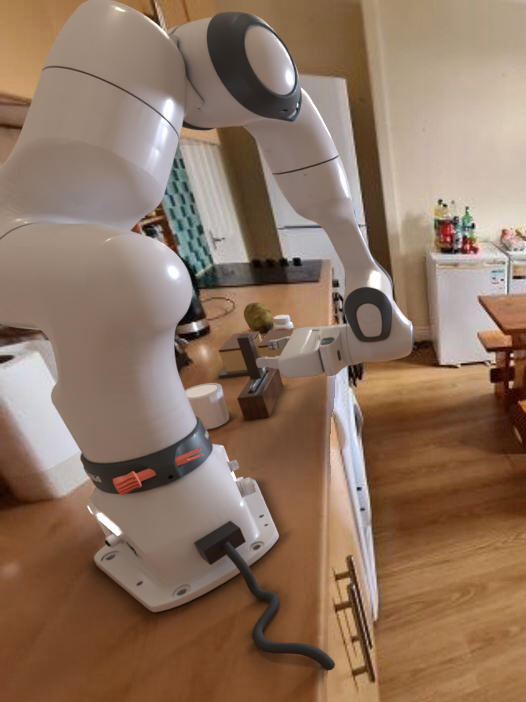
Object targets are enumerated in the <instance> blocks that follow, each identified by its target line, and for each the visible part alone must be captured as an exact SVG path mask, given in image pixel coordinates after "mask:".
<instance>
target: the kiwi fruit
mask: <svg viewBox="0 0 526 702" xmlns="http://www.w3.org/2000/svg"><path fill="white" fill-rule="evenodd" d="M243 318H244V320H245V322H246V324H247V326H248V328H249V329H250V330H251V332H257V331H259V332H260V334H264V335H266V334H267V333H268V331H269V330H274V325H275V323H274V319H273V318H274V317H273V315H272V312H271V310H270V309H269V308H268V307H267V306H266V305H265V304H264V303H262V302H261V303H260V302H256V301H255V302H252V303H248V304H247V305H246V306H245V307H244V309H243Z"/></svg>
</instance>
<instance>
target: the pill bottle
mask: <svg viewBox="0 0 526 702" xmlns="http://www.w3.org/2000/svg"><path fill="white" fill-rule="evenodd" d="M272 318H273V323H274V327H273V330H278V329H288V328H294V329H295V326H294V323H293V322H292V321H291V317H290V315H289V314H278V315H275V316H273V317H272Z"/></svg>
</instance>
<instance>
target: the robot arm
mask: <svg viewBox="0 0 526 702" xmlns="http://www.w3.org/2000/svg"><path fill="white" fill-rule="evenodd" d="M231 127H243V128H244V129H245V130H246V131H247V132H248V133H249V134H250V135H251V136H252V137H253V138H254V139H255V141H256V142H257V143H258V146H259V149H260V151H261V153H262V156H263V158H264V160H265V162H266V165H267V166H268V169H269V171H270V173H271V175H272V177H273V179H274V182H275V183H276V185H277V187H278V189H279V190H280V192H281V194H282V195H283V197H284V198H285V199H286V201H287V202H288V204H289V205H290V206H291V208H292V209H293V210H294V212H295V213H296V214H297V215H298V216H299V217H302V218H304V219H305V220H307V221H311V222H314V223H316V224H317V225H318V226H319V227H321V228H322V230H323V231H324V232H325V233H326V235H327V237H328V238H329V240H330V242H331V245H332V246H333V249H334V251H335V252H336V254H337V256H338V259H339V260H340V263H341V264H342V267H343V271H344V294H343V301H342V302H343V303H342V307H343V313H344V315H345V317H346V320H347V322H348V323H340V324H337V323H336V324H328V325H323V326H304V327H298V328H296V329H295V328H294V332H293V334H292V336H287V337H284V338H281V339H278V340H270V341H269V342H268V344H267V345H268V348H269V350H278V349H279V348H284V347H285V348H284V349H283V351H282V353H281V355H280V356H275V357H267V356H263V357H258V358H257V360H256V364H257V367H258V368H264V367H269V368H274V369H279V373H280V377H281V378H282V377H283V378H286V379H298V378H299V379H300V378H309V377H310V378H311V377H318V376H321V375H323V374H324V375H325V376H326V377H333V376H336V375H338V374H339V373H340V372H341V371H342V370H344V369H345V368H347V367H349V366H355V365H359V364H361V363H381V362H389V361H394V360H398V359H402V358H405V357H407V356H409V355H410V354H411V353H412V352H413V349H414V345H415V329H414V324H413V322H412V321H411V320H409V319H408V318H407V317H406V316H405V315H404V313H402V311H401V310H400V308H399V306H398V305H397V303H396V302H395V300H394V296H393V292H394V291H393V290H394V284H393V280H392V277H391V275H390V274H389V272H388V271H387V270H386V269H385V268H384V267H383V266H382V265H381V264H380V262H378V261H377V260H376V259H375V257H374V256H373V255H372V252H371V250H370V248H369V246H368V243H367V241H366V239H365V237H364V234H363V232H362V230H361V228H360V225H359V222H358V221H357V217H356V215H355V214H356V212H355V209H354V202H353V196H352V192H351V187H350V182H349V180H348V177H347V173H346V169H345V167H344V164H343V161H342V159H341V156H340V153H339V152H338V149H337V147H336V144H335V141H334V140H333V137H332V136H331V134H330V132H329V129H328V127H327V126H326V123H325V122H324V119H323V118H322V116H321V114H320V112H319V111H318V108H317V106H316V105H315V104H314V102H313V100H312V99H311V97H310V95H309V94H308V93H307V91H305V89H303V88H302V86H301V79H300V76H299V71H298V68H297V65H296V63H295V60H294V58H293V56H292V53H291V51H290V49H289V48H288V46H287V44H286V43H285V42H284V40H283V39H282V38H281V36H279V34H278V33H277V32H276V31H275V30H274V28H273V27H271V26H270V25H269V24H268V23H267V22H266V21H265V20H264V19H262V18H261V17H259V16H257V15H255V14H252V13H250V12H249V13H248V12H245V11H223V12H219V13H217V14H215V15H213V16H212V17H205V18H201V19H197V20H192V21H187V22H183V23H180V24H178V25H176V26H173V27H171V28H168V29H167V30H164V29H163V28H161V27H160V25H158V24H157V23H156V22H155V21H154V20H153V19H151V18H149V17H148V16H147V15H145V14H144V13H142V12H141V11H138V10H137V9H135V8H133V7H131V6H129V5H128V4H124V3H123V2H119V1H116V0H86V1H84V2H81V4H79V5H78V6H77V8H76V9H75V10H74V11H73V13H71V15H70V16H69V17H68V19H67V20H66V22H65V23H64V25H63V26H62V28H61V29H60V31H59V33H57V35H56V38H55V40H54V41H53V43H52V45H51V47H50V49H49V52H48V54H47V55H46V58H45V61H44V64H43V66H42V69H41V71H40V75H39V78H38V81H37V84H36V87H35V91H34V93H33V96H32V99H31V102H30V104H29V107H28V111H27V114H26V116H25V119H24V122H23V125H22V128H21V131H20V134H19V136H18V138H17V141H16V142H15V144H14V146H13V148H12V150H11V152H10V153H9V155H8V157H7V158H6V160H5V161H4V162H3V164H2V165H1V167H0V325H1V326H6V327H11V328H17V329H27V330H35V331H36V330H37V331H38V330H39V331H41V332H42V333H43V334H44V335H45V336H46V337H47V339H48V341H49V343H50V345H51V347H52V351H53V356H54V359H55V360H54V361H55V365H56V371H57V382H56V383H55V384H54V385H53V386H52V387H53V388H52V390H51V392H50V399H51V403H52V405H53V407H54V409H55V410H56V411H57V414H58V415H59V416H60V418H61V420H62V422H63V424H64V425H65V428H67V430H68V432H69V433H70V435H71V437H72V438H73V440H74V442H75V443H76V445H77V447H78V449H79V450H80V452H81V453H80V455H79V456H80V458H79V459H80V462H81V464H82V468H83V470H84V473H85V474H86V475H87V476H88V477H89V479H90V480H91V482H92V484H93V485H94V486H95V488H94V490H93V492H92V493H91V495H90V496H89V497H88V500H87V501H86V505H87V508H88V510H89V512H90V513H91V514H92V515H93V517H94V519H95V520H96V522H97V524H98V525H99V527H100V529H101V530H102V531H103V533H104V535H105V538H104V543H105V545H104V546H103V547H101V548H100V549H99V550H98V551H96V553H95V554H94V556H93V561H94V563H95V565H96V567H98V568H99V569H100V570H101V571H102V572H103V573H105V574H106V575H107V576H108V577H109V578H111V579H112V580H113V581H114V582H115V583H116V584H117V585H118V586H120V587H121V588H122V589H123V590H125V592H127V593H128V594H129V595H130V596H131V597H133V598H134V599H135V600H136V601H137V602H139V603H140V605H142V606H144V608H146V609H147V610H149V611H150V612H151V613H159V612H163V611H167V610H170V609H173V608H176V607H179V606H182V605H184V604H186V603H189V602H191V601H193V600H196V599H197V598H199V597H201V596H203V595H205V594H207V593H209V592H211V591H212V590H214V589H216V588H218V587H219V586H221V585H223V584H224V583H227V582H228V581H229V580H231V579H232V578H234V577H236V576H237V575H238V574H240V575H241V576H242V578H243V580H244V582H245V584H246V586H247V588H248V590H249V592H250V593H251V595H252V596H253V597H255V598H256V599H259V600H261V601H267V602H268V606H267V607H266V609H265V610H264V612H263V613H262V614H261V615H260V617H259V618H258V619H257V621H256V623H255V624H254V626H253V629H252V631H251V632H252V633H251V638H252V641H253V643H254V645H255V646H256V647H257V649H259V650H261V651H262V652H264V653H269V654H277V655H278V654H284V655H286V654H289V655H299V656H300V655H301V656H304V657H308V658H310V659H312V660H313V661H315V662H317V663H318V664H319V665H320V666H321V667H322V668H323V669H324V670H326V671H332V670H333V669H334V668H335V666H336V663H335V661H334V660H333V658H332V657H331V656H330V655H328V654H327V653H326V652H325V651H324V650H322V649H320V648H318V647H316V646H314V645H312V644H307V643H301V642H278V641H277V642H276V641H272V640H269V639H267V638H265V636H264V633H263V630H264V628H265V626H266V625H267V624H268V622H269V621H270V619H271V618H272V617H273V615H274V614H275V612H276V611H277V608H278V606H279V602H280V601H279V596H278V595H277V593H275V592H273V591H269V590H264V589H263V588H262V587H261V586H260V585H259V584H258V582H257V580H256V578H255V575H254V573H253V571H252V569H251V568H250V566H252V565H253V564H254V563H255V562H257V561H258V560H260V559H261V558H262V557H263V556H264V555H266V553H268V551H270V550H271V548H272V547H273V546H274V545H275V544H276V543H277V541H278V540H279V538H280V535H279V532H278V529H277V527H276V524H275V521H274V519H273V517H272V515H271V512H270V510H269V508H268V505H267V503H266V501H265V499H264V496H263V494H262V492H261V489H260V486H259V485H258V483H257V481H256V480H255V478H254V479H253V478H251V476H248V477H247V476H246V477H244V476H239V477H237V476H236V474H235V472H234V471H237V470H239V469H240V465H239V462H238V461H237V459H233V460H231V461H230V460H229V457H228V455H227V454H228V453H227V451H226V449H225V446H224V445H223V444H222V445H221V444H219V443H218V444H217V443H213V442H212V440H211V438H210V435H209V432H208V429H206V427H205V426H204V425H203V424H202V422H201V420H200V418H199V417H197V416H195V415H194V412H193V410H192V407H191V405H190V402H189V400H188V397H187V395H186V392H185V390H186V389H185V386H184V384H183V382H182V379H181V377H180V373H179V370H178V366H177V362H176V361H177V360H176V354H175V353H176V352H175V336H176V329H177V326H178V324H179V322H180V321H181V320H182V319H183V318H184V317H185V315H186V314H187V312H188V310H189V309H190V306H191V303H192V300H193V283H192V278H191V276H190V273H189V270H188V268H187V267H186V265H185V262H183V260H182V258H180V256H178V254H177V253H176V252H175V251H174V250H173V249H171V248H170V247H169V246H167V245H166V244H165V243H163V242H161V241H159V240H158V239H155V238H153V237H150V236H148V235H144V234H141V233H138V232H135V231H132V230H133V229H134V227H135V226H136V225H137V224H138V223H139V222H140V221H141V220H143V218H145V217H146V216H147V215H149V214H150V213H152V212H153V211H154V210H156V209H157V208H158V207H159V205H160V204H161V203H162V201H163V200H164V197H165V194H166V191H167V190H166V189H167V186H168V182H169V178H170V176H171V172H172V168H173V164H174V160H175V156H176V152H177V149H178V145H179V141H180V137H181V134H182V128H184V129H188V130H191V131H192V130H193V131H204V132H205V131H212V130H214V129H222V128H231Z"/></svg>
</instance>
